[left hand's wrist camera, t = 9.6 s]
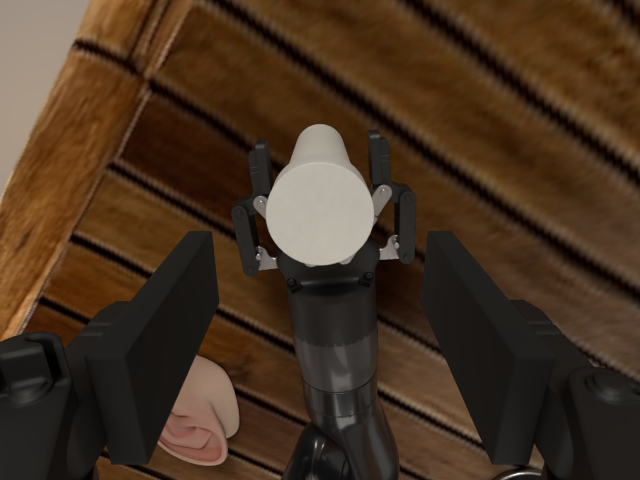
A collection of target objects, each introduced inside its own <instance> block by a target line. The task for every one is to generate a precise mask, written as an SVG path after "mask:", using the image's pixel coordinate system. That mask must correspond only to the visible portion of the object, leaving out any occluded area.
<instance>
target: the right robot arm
mask: <svg viewBox="0 0 640 480" xmlns="http://www.w3.org/2000/svg"><path fill="white" fill-rule="evenodd" d="M367 136H368V156H369V177H370V180H371V182H372V184H371V185H370V187H369V189H368V190H369V193H370V195H371V198H372V201H373V206H374V222H373V226H374V224H375V223H376V221H377V218H378V215H379V213H380V212H381V210H382V209H383V207H384V206H385V204H386V203H387V201H392V202H395V211H394V231H392V232H390V233H388V234H387V236H386V240H385V242H384V243H383V244H381V245H378V244H377V243H376V241H375V240H374V239H373V238H372V237H371V236H370V235H369V237H368V238H367V240H366V242H365V243H364V244H363V246H362V247H361V248H360V249H359V250H358V251H357V252H356V253H354V254H353V255H352V256H350V257H349V258H347V259H345V260H343V261H340V262H337V263H334V264H329V265H311V264H306V263H302V262H300V261H297V260H295V259H293V258H291V257H290V256H288V255H287V254H286V253H284V252H283V251H282V250H281V249H279V251H278V254H274V253H272V252H270V251H269V249H268V246H267V245H266V244H264V243H259V238H258V233H257V228H256V223H255V218H254V214H255V213H257V212H259V213H260V214H261V215H262V216H263V217H264V218H265V219H266V206H267V201H268V197H269V195H270V193H271V190H272V188H273V186H274V182H273V175H272V167H271V160H270V153H269V145H268V140H258V141H257V142H256V143H255V149H252V150H251V151H250V153H249V157H248V161H249V168H250V174H251V181H252V187H253V194H251V195H249V196H247V197H243V198H240V199H239V200H238V201H237V203H236V205H235V206H234V207H233V209H232V211H231V216H232V220H233V225H234V229H235V234H236V239H237V243H238V248H239V252H240V257H241V261H242V266H243V271H244V273H245V274H246V275H248V276H255V275H256V274H257V273H258V270H266V269H274V268H278V269H279V270H280V271H281V273H282V274H283V276H284V278H285V283H286V290H287V297H288V305H289V312H290V319H291V326H292V333H293V340H294V347H295V353H296V357H297V361H298V364H299V367H300V371H301V378H302V385H303V393H304V400H305V406H306V410H307V413H308V415H309V417H310V419H311V421H310V422H309V423H308V424H307V425H306V427H305V428H304V430H303V431H302V433H301V435H300V437H299V439H298V442H297V444H296V447H295V449H294V451H293V454H292V456H291V459H290V461H289V463H288V465H287V467H286V469H285V471H284V474H283V476H282V478H281V480H398V478H399V456H398V450H397V445H396V442H395V439H394V436H393V433H392V431H391V428H390V426H389V423H388V421H387V418H386V415H385V413H384V410H383V407H382V405H381V403H380V401H379V398H378V388H377V368H376V361H377V353H378V331H377V309H376V289H375V268H376V265H377V263H378V262H379V260H381V259H400V261H401V262H402V263H404V264H409V263H411V262H412V261H413V260H414V253H415V220H416V196H415V194H414V193H413V191H412V190H411V189H410V188H409V186H408V185H406V184H399V183H395V182H393V181H391V178H390V146H389V144H388V142H387V140H386V139H385V138H384V137H380V132H379V131H378V130H368V132H367ZM373 226H372V227H373ZM541 473H542V470H540V469H535V468H517V469H512V470H509V471H506V472H504V473H502V474H500V475H498V476H496V477H495V478H494V479H492V480H540V477H541Z"/></svg>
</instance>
